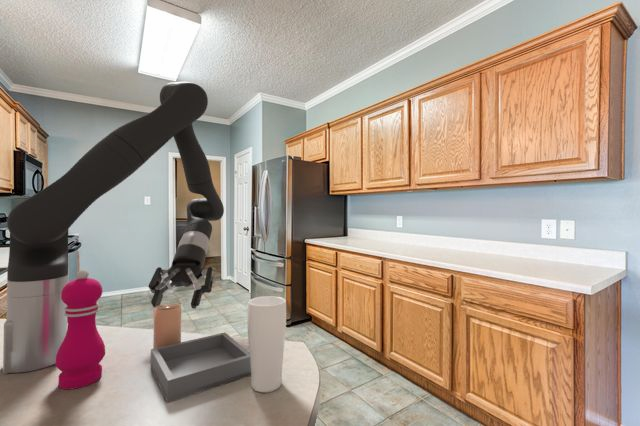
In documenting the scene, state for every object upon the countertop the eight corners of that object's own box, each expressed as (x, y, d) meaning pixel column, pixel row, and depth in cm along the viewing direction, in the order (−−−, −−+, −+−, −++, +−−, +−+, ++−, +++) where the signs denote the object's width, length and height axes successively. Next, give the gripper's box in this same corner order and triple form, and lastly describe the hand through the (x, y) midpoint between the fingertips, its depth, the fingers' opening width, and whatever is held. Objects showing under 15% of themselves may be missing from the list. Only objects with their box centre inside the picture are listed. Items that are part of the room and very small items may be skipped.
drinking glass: (278, 399, 51) (279, 307, 51) (240, 394, 52) (240, 304, 53) (290, 378, 58) (291, 296, 58) (256, 374, 59) (256, 294, 59)
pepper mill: (64, 374, 59) (66, 267, 59) (109, 367, 61) (111, 266, 62) (46, 394, 52) (49, 274, 52) (98, 386, 55) (100, 272, 55)
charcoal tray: (167, 402, 50) (167, 380, 50) (150, 366, 62) (151, 349, 62) (253, 374, 59) (254, 355, 59) (224, 347, 71) (225, 332, 71)
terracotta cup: (155, 360, 64) (156, 311, 64) (151, 351, 69) (151, 305, 69) (183, 354, 68) (184, 307, 68) (177, 345, 72) (178, 302, 72)
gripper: (160, 242, 80) (136, 299, 69) (216, 242, 81) (202, 298, 70) (168, 260, 86) (147, 315, 74) (221, 260, 86) (209, 314, 75)
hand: (174, 307), depth 72 cm, fingers open, 8 cm apart
